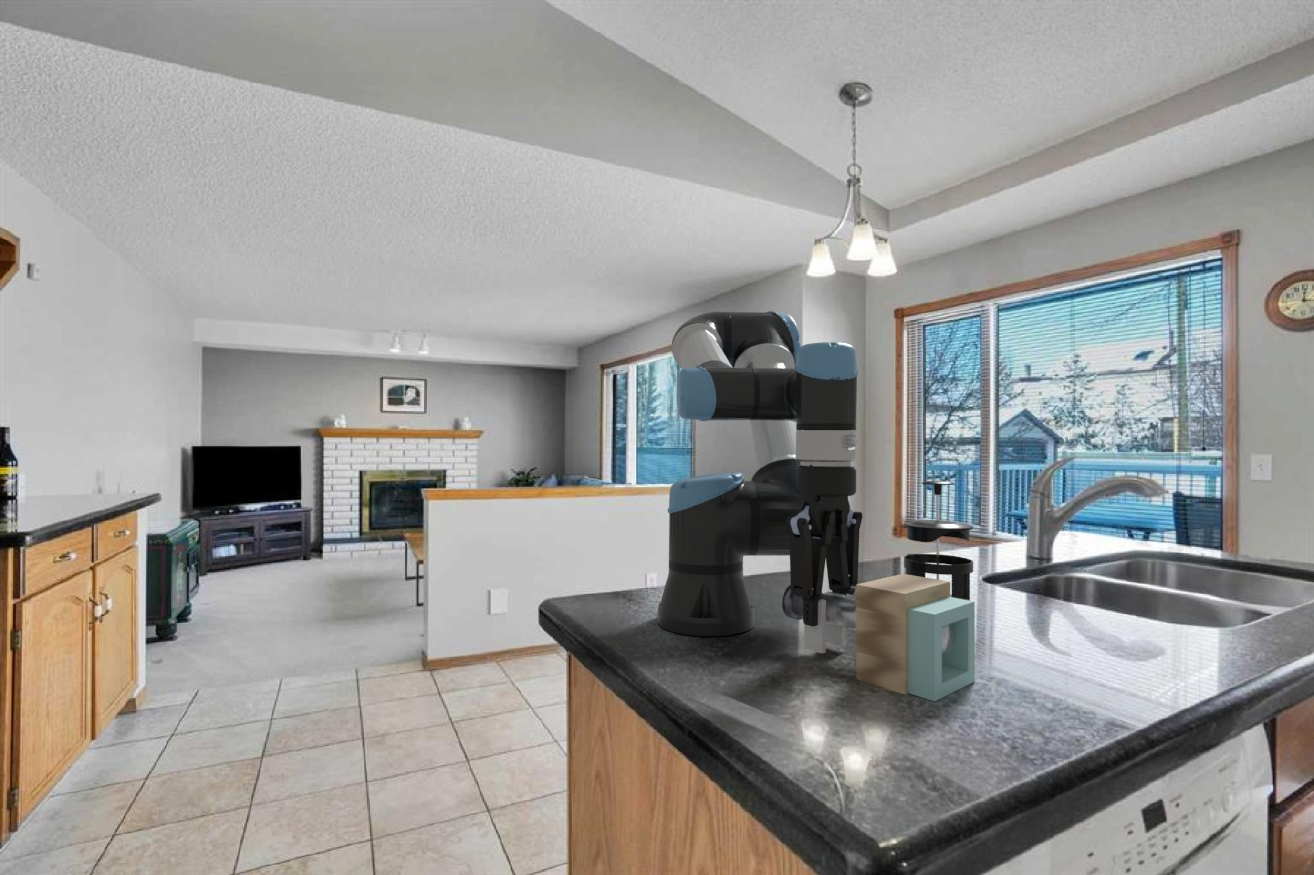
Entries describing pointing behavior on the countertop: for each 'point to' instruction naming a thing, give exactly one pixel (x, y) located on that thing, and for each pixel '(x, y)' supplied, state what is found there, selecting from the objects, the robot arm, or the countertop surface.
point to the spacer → (940, 648)
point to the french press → (929, 533)
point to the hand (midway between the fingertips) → (825, 646)
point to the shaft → (848, 614)
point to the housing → (889, 626)
